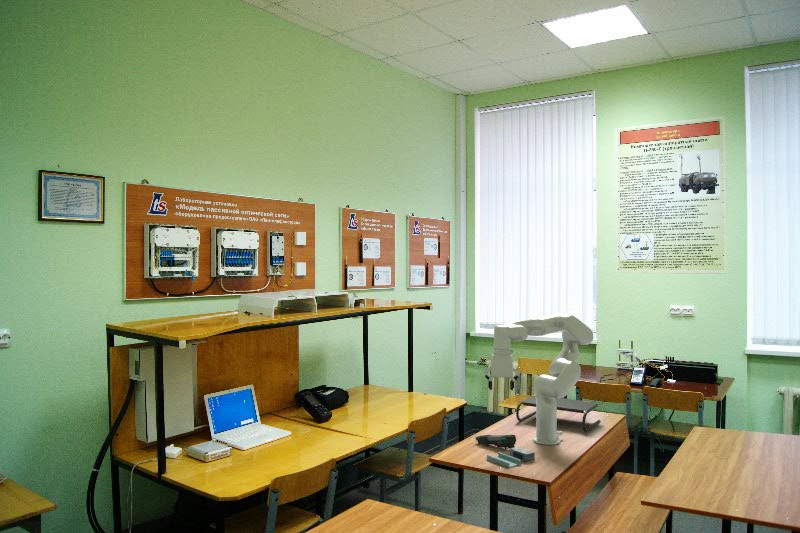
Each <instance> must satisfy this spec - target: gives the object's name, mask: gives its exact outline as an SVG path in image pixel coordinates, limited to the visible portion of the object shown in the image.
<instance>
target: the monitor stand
mask: <svg viewBox="0 0 800 533" xmlns="http://www.w3.org/2000/svg"><path fill="white" fill-rule="evenodd" d="M555 399H556V404H557V411H562V412H570V413H578V414H583V415H582V423H581V424H582V425H581V426H582V430H583V431H584V432H587V433H588V432H589V431H591V430H592V429H593V428H595V427H596V426H597V425H599V423H601V419H598V420H596V421H595V422H593V423H592V424H591V425H589V426H588V427H587V426H586V419H587V415H588V414H590V412H592V411H593V410H595V409H596V408H598V407H599V404H598V403H597V402H594V401H590V400H589V401H588V400H580V399H572V398H565V397H564V398H561V399H557V398H555ZM522 405H523V406H525V407H534V408H536V395H533V396H530V397H528V398H526V399H524V400H522V401H520V402H518V404H517V405H516V406H517V407H516V410H515V416H516V420H517V421H518V422H521V423H522V422H523V421H525V420H528V419H529V418H531V417H532V416H536V410H534V411H533V412H531V413H529V414H528V415H527V414H526V415H525V416H524V417H521V418H520V412H519V411H520V408H521V406H522Z"/></svg>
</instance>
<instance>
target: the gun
mask: <svg viewBox="0 0 800 533" xmlns="http://www.w3.org/2000/svg"><path fill="white" fill-rule="evenodd" d="M475 441H477V444H478V445H481V444H482V445H483V446H490V445H491V446H492V445H493V446H494V447H496V448H497V449H498V448H500V449H501V448H504V450H510V448H514V447H516V446H515V445H516V442H517V436H516V435H515V434H503V435H501V434H497V435H496V434H495V435H494V434H493V435H492V434H483V435H476V436H475Z"/></svg>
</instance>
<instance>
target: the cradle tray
mask: <svg viewBox="0 0 800 533" xmlns="http://www.w3.org/2000/svg"><path fill="white" fill-rule="evenodd" d="M486 461H489V462H492V463H494V464H496V465H499V466H501V467H505V468H507V469H510V468H515V467H517V466H521V465H522V461H521V460H519V459H517V458H514V457H511V456H510V454H509V455H508V454H505V453H502V452H501V451H498V452H497V456H492V455H489V454H487V455H486Z"/></svg>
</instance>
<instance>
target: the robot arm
mask: <svg viewBox="0 0 800 533" xmlns="http://www.w3.org/2000/svg"><path fill="white" fill-rule="evenodd" d="M493 328H494V329H493V354H491V358H490V362H489V367H488V368H485V369H484V370H482V373H483V376H484V378H485V379H487V383H488V384H487V388H488V389H489V390H490V391H493V379H494V378H509V379H510V381H509V390H510V391H514V389H515V382H516V380H518V379H519V376H520V374H521V371H520V370H517V369H515V368H514V366H513V365H514V364H513V356H512V355H511V354H514V350H513V349H511V341H512V342H523V341H525V340H527V338H528V337H529V336H530V337H542V336H546V335H551V334H554V333H558V332H562V333H561V338H562V348H561V350H560V351H559V353H558V354H557V356H556V357H555V358H554V359H553V361H552V362H550V365H549V367H548V372H549V374H550V375H549V374H539V375H538V376H536V377H535V379H534V382H533V387H534V393H535V395H534V396H536V407H535V411H536V414H535V417H536V418H535V422H536V423H535V426H536V429H535V433H536V434H535V436H533V438H532V440H533V442H534V443H536V444H539V445H543V446H545V445H546V446H554V445H559V444H560V443H561V439H560V438H559V436H563V434H564V431H562V430H559V431H558V425H557V423H558V420H557V419H558V418H557V416H558V414H557V412H558V410H557V404H556V399H555V398H557V399H561V398H565V397H566V396H567V395H568V394H569V393H570V391H571V390H572V389H573V387H574V386H575V385H576V383H577V382H578V381H579V380H580V377H581V374H582V369H581V366H580V364H579V363H577V362H576V361H578V359H579V356H580V351H579V345H581V346H587V345H590V344H592V342H593V340H594V333H593V329H591V328H590V327H589V326H587V324H585V323H584V322H582V321H581V320H580V319H579V318H577V317H576V316H575V315H573V314H569V313H568V314H567V313H555V314H550V315H545V316H541V317H537V318H530V319H524V320H518V321H517V320H516V321H513V322H508V323H505V324H497V325H495V326H494V327H493ZM487 373H489V376H488V374H487ZM514 373H515V375H514Z"/></svg>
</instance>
